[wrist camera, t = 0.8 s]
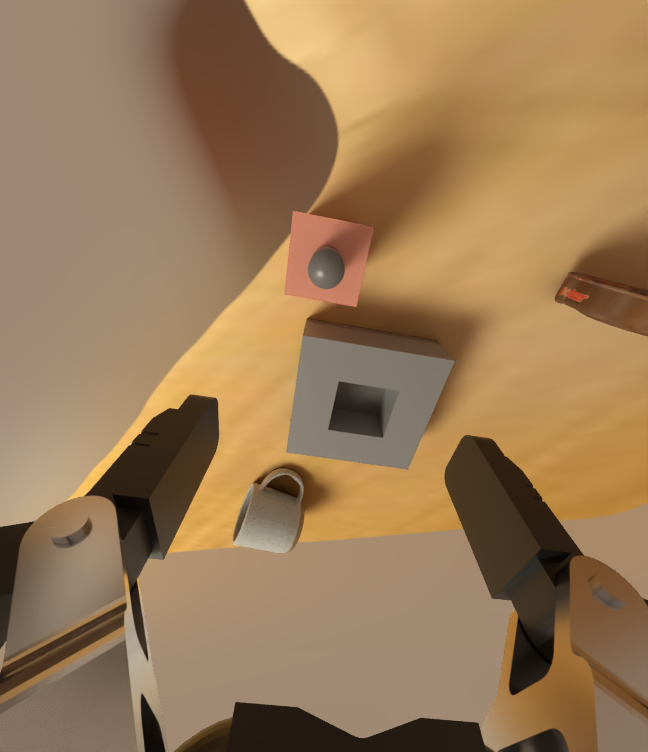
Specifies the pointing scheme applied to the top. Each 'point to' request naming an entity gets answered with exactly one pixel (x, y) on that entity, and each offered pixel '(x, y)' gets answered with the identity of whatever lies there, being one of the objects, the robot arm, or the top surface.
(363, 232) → the plug
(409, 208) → the top surface
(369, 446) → the socket block
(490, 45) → the top surface
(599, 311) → the tin
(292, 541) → the ceramic mug
